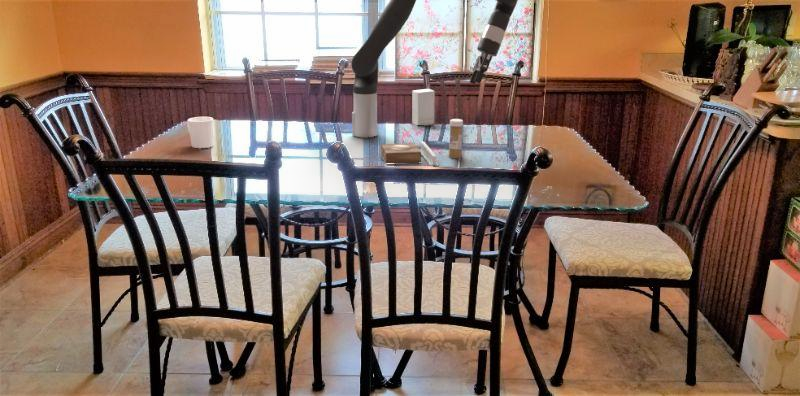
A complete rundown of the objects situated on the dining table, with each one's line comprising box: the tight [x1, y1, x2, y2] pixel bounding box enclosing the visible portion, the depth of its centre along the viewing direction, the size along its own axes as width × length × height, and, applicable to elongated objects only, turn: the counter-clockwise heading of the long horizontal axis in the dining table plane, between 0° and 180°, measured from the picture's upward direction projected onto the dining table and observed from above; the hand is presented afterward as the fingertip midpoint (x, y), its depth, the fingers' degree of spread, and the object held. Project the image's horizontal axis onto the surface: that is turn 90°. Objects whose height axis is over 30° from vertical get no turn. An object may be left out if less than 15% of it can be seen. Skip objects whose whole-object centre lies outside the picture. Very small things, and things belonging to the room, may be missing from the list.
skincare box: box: [411, 88, 436, 126], centre depth 272 cm, size 8×6×15 cm
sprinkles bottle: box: [448, 118, 464, 159], centre depth 223 cm, size 5×5×14 cm
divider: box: [419, 141, 440, 167], centre depth 223 cm, size 20×3×4 cm, turn 10°
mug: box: [186, 116, 215, 149], centre depth 235 cm, size 11×9×10 cm
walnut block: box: [380, 142, 422, 165], centre depth 221 cm, size 12×12×4 cm
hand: (474, 83), depth 230 cm, fingers open, 8 cm apart
